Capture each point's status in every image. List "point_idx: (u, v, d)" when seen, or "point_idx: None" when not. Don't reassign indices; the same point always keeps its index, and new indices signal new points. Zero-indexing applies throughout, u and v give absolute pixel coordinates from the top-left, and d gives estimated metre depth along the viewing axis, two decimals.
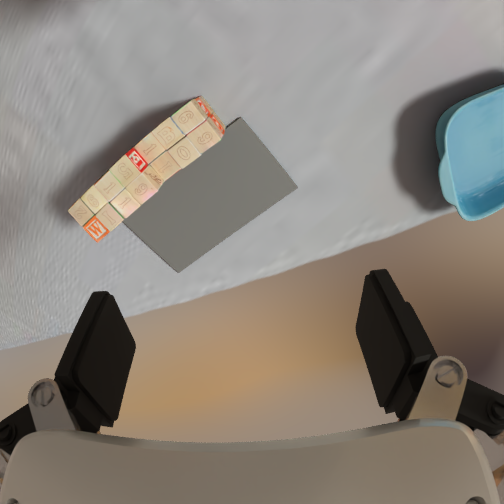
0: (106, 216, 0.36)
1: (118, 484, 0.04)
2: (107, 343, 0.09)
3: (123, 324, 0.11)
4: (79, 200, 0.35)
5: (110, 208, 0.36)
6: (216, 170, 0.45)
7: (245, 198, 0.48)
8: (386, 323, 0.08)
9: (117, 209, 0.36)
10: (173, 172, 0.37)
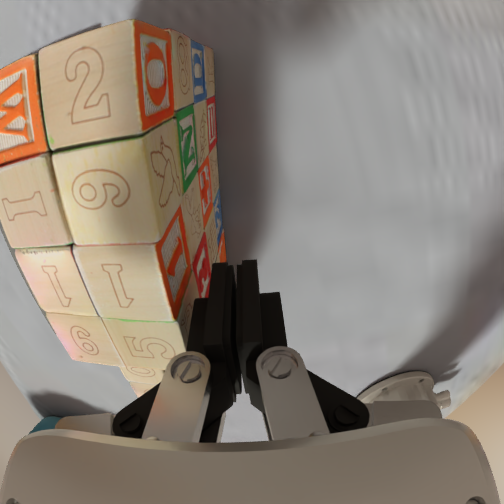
0: (28, 202, 0.08)
1: (118, 484, 0.04)
2: (235, 312, 0.10)
3: None
4: (134, 125, 0.07)
5: (49, 236, 0.08)
6: None
7: None
8: None
9: (42, 249, 0.09)
10: None
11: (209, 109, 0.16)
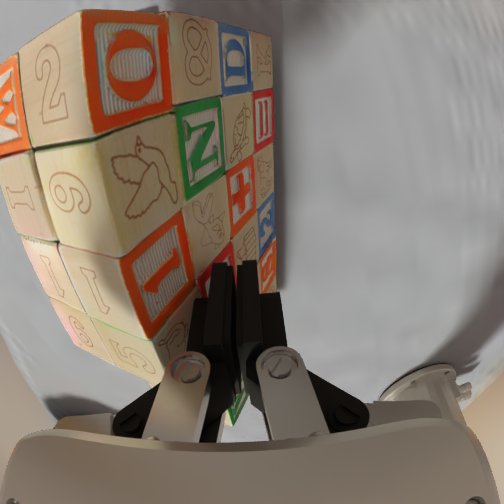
0: (22, 195, 0.08)
1: (118, 484, 0.04)
2: (234, 312, 0.10)
3: None
4: (86, 127, 0.06)
5: (39, 229, 0.08)
6: None
7: None
8: None
9: (37, 239, 0.09)
10: None
11: (259, 103, 0.14)
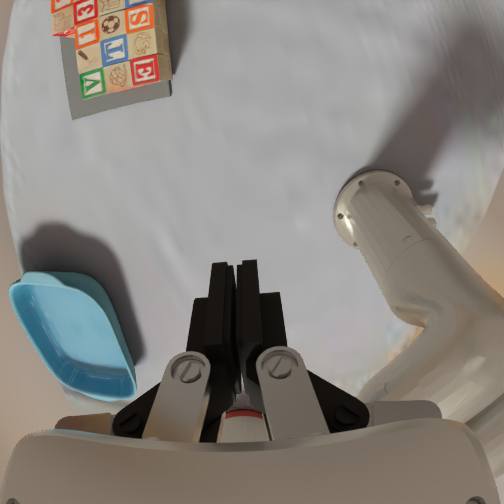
0: None
1: (118, 484, 0.04)
2: (234, 312, 0.10)
3: None
4: None
5: None
6: None
7: None
8: None
9: None
10: None
11: None
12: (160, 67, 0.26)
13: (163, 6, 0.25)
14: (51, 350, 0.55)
